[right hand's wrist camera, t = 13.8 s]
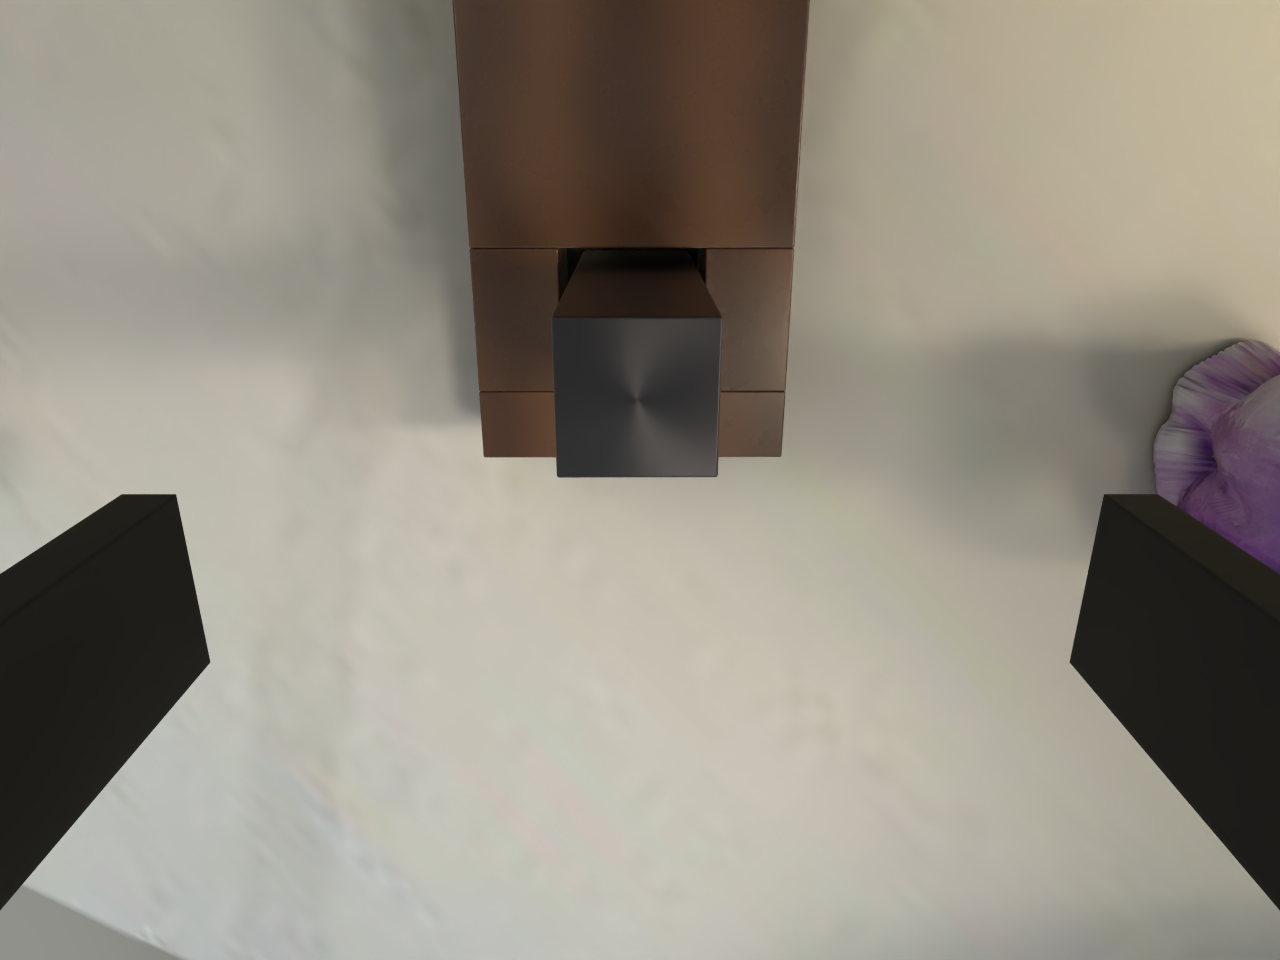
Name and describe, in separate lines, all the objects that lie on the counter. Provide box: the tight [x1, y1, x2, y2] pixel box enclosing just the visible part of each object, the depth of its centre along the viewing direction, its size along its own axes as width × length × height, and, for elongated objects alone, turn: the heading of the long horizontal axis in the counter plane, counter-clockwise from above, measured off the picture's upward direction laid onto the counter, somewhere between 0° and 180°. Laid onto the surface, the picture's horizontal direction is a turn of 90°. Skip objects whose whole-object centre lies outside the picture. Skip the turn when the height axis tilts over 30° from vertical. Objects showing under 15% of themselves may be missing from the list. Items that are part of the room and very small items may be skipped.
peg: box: [551, 250, 723, 477], centre depth 27 cm, size 4×4×14 cm
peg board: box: [453, 0, 810, 457], centre depth 24 cm, size 11×26×14 cm, turn 0°
